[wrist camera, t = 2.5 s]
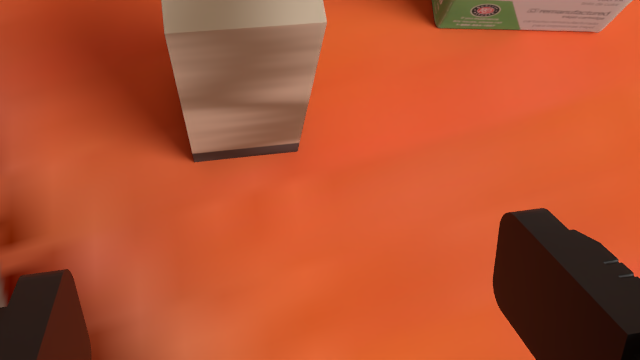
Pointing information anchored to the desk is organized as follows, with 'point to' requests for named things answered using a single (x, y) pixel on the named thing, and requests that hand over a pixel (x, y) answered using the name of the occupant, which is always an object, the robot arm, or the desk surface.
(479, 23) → the ink box
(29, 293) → the robot arm
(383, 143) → the desk surface
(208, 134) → the tall wooden block
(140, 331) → the desk surface
